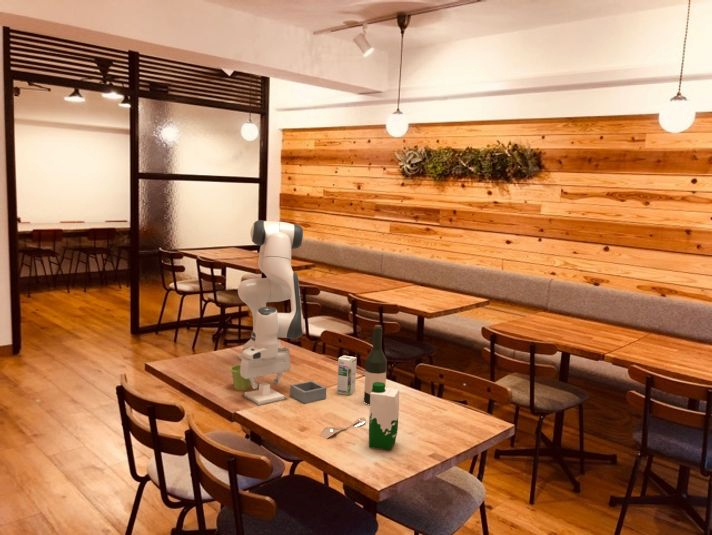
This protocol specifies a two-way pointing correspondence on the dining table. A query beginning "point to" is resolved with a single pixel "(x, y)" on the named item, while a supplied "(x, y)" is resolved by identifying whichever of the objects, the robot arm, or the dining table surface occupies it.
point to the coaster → (263, 403)
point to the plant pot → (239, 379)
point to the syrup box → (346, 375)
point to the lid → (264, 394)
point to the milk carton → (383, 416)
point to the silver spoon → (331, 430)
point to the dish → (308, 392)
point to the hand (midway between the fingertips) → (265, 385)
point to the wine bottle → (375, 364)
